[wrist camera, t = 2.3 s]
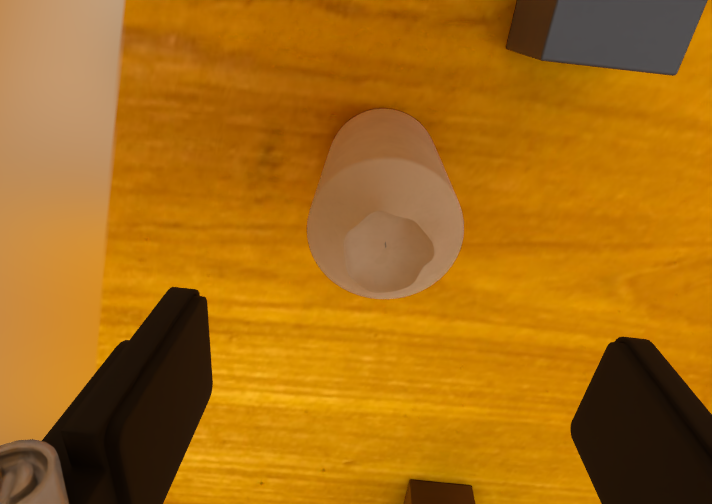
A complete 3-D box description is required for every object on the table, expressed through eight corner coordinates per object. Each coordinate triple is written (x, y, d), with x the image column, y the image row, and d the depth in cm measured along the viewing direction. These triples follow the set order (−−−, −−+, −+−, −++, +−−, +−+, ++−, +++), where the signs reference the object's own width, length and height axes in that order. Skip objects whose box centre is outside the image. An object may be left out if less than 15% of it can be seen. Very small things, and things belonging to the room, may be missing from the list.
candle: (323, 110, 22) (289, 178, 13) (436, 103, 22) (476, 168, 13) (334, 212, 25) (311, 325, 16) (434, 207, 24) (468, 320, 16)
